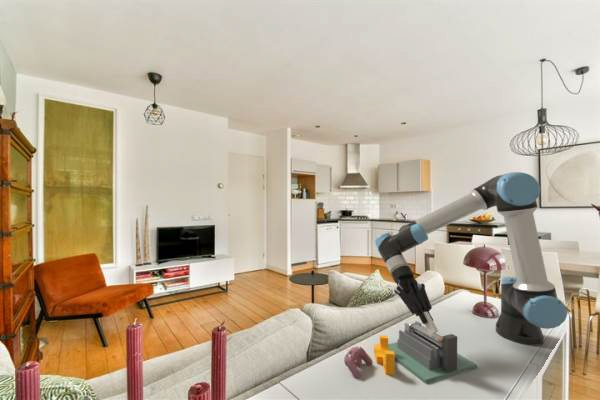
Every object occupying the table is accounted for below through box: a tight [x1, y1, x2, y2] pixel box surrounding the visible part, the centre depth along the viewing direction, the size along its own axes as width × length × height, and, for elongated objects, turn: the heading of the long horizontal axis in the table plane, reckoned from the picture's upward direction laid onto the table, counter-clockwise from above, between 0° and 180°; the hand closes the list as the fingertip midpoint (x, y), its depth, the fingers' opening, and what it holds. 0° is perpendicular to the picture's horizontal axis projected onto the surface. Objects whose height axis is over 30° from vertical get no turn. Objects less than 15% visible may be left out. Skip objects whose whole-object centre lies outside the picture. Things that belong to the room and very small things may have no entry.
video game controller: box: [343, 346, 374, 379], centre depth 88 cm, size 10×5×7 cm, turn 141°
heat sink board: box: [388, 320, 478, 384], centre depth 95 cm, size 22×20×11 cm
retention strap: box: [409, 322, 443, 347], centre depth 95 cm, size 3×14×2 cm, turn 22°
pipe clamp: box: [373, 334, 396, 376], centre depth 91 cm, size 12×4×6 cm, turn 173°
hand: (434, 332), depth 92 cm, fingers closed
